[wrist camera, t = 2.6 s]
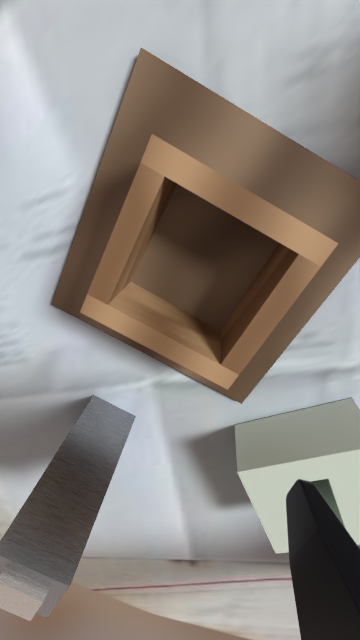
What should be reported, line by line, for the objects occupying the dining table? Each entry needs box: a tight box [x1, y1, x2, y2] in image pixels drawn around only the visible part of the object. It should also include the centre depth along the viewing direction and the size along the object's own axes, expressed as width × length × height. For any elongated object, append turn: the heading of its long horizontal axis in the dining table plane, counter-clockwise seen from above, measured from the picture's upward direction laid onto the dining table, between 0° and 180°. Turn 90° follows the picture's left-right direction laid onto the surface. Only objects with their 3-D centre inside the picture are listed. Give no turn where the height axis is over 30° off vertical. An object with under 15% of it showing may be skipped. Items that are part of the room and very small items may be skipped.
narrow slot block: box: [235, 398, 360, 554], centre depth 22 cm, size 9×9×4 cm
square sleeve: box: [51, 48, 360, 404], centre depth 17 cm, size 16×16×5 cm
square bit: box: [0, 395, 136, 621], centre depth 20 cm, size 4×4×13 cm
